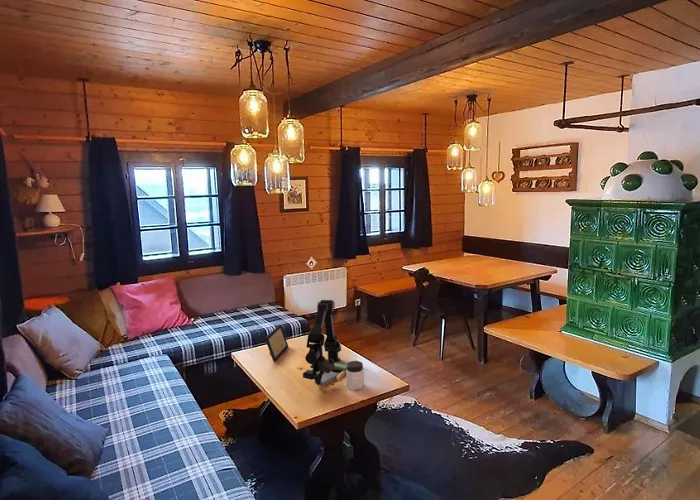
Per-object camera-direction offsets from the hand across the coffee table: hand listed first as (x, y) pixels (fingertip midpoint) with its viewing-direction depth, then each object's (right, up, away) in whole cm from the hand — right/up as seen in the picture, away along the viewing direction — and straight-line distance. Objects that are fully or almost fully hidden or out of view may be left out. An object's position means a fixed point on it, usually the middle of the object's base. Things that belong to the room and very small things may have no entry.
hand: (318, 384), depth 222 cm
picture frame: (-30, +5, +45) cm, 54 cm away
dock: (+7, +1, +13) cm, 15 cm away
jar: (+19, -1, -2) cm, 19 cm away
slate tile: (+4, 0, +7) cm, 8 cm away
